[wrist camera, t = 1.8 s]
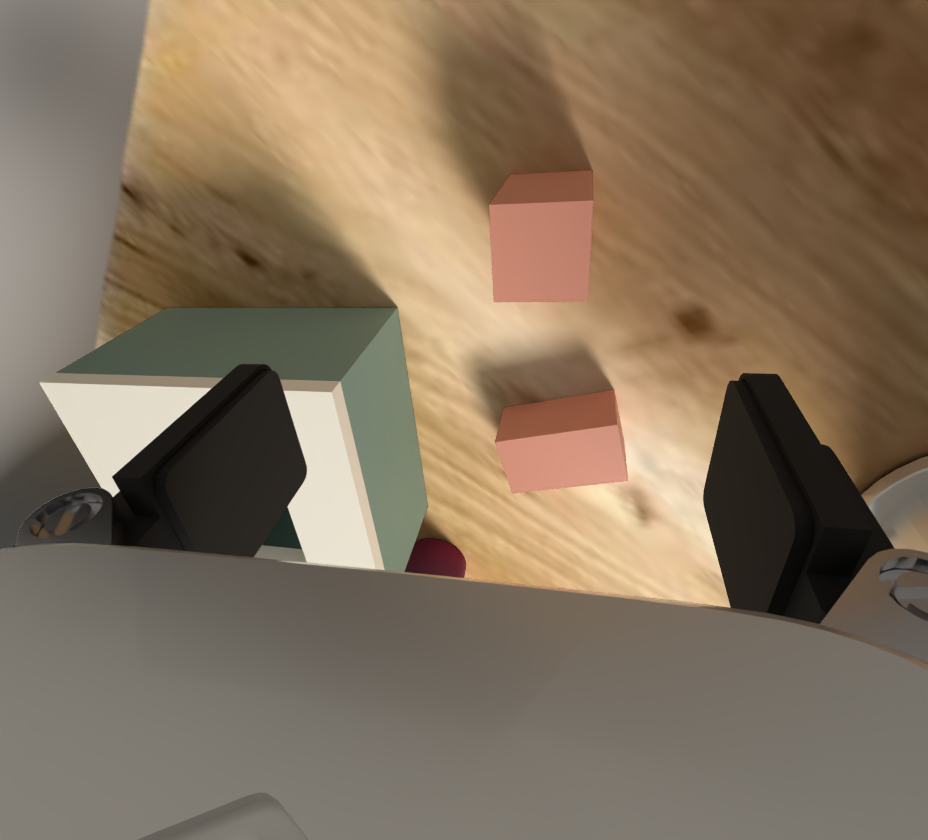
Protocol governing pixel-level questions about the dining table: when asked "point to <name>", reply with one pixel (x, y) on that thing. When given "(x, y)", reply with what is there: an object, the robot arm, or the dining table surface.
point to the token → (562, 443)
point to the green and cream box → (310, 403)
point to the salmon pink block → (542, 237)
